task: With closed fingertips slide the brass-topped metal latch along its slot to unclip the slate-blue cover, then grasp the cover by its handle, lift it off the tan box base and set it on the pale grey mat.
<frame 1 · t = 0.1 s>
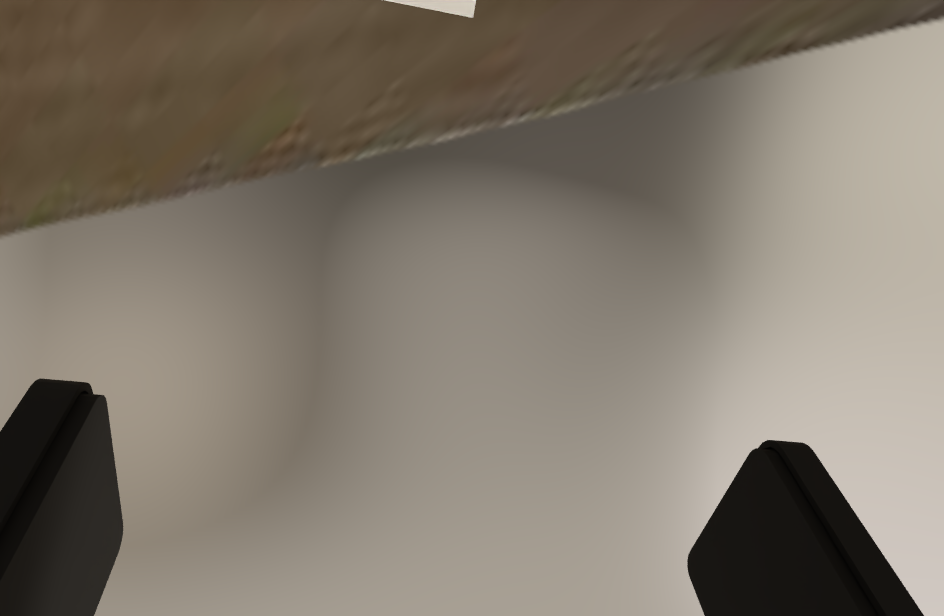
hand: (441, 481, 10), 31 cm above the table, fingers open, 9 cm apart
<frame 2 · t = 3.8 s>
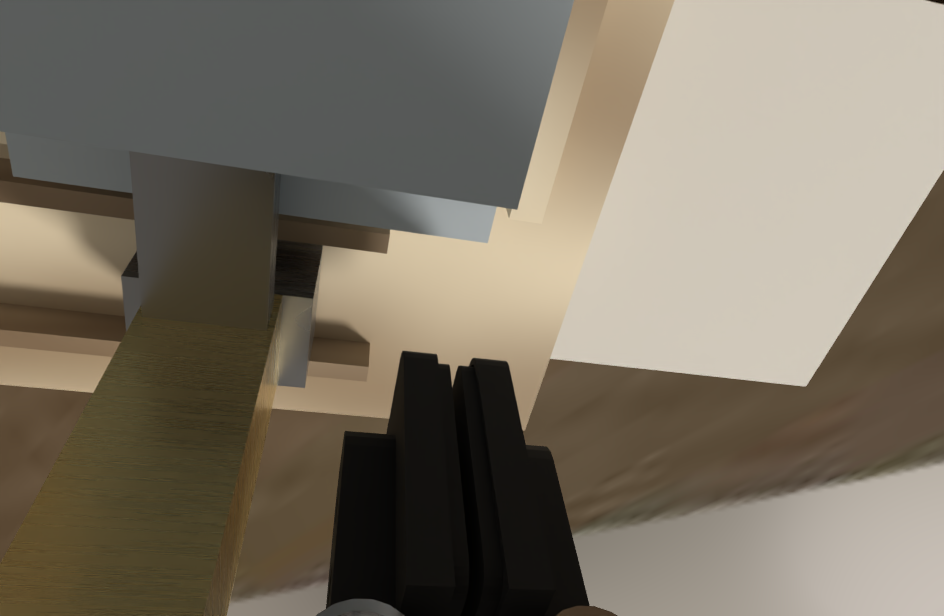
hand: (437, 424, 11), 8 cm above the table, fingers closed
latch: (186, 348, 9), point 8 cm above the table, slide at 0.7 cm, touching gripper
mat: (747, 205, 18), on the table
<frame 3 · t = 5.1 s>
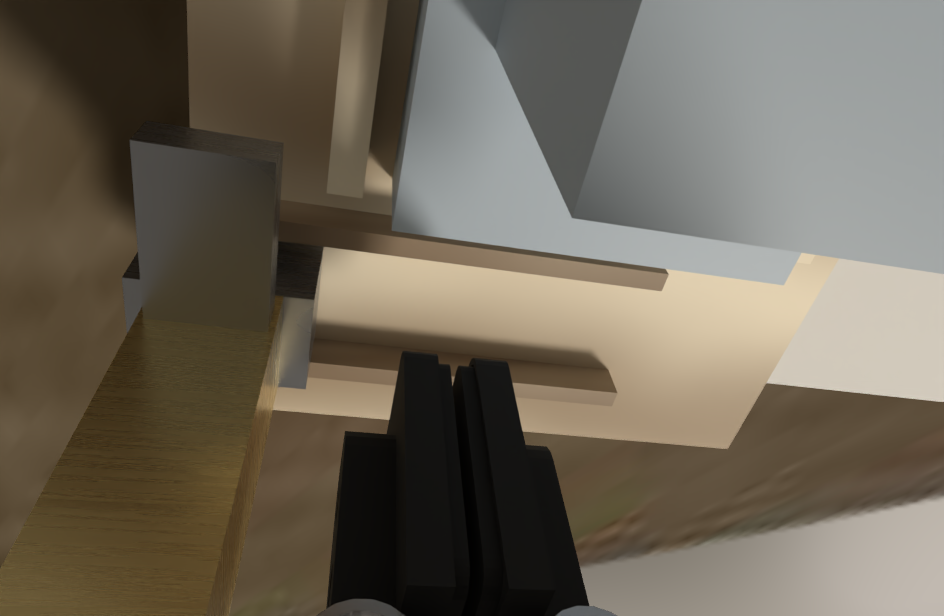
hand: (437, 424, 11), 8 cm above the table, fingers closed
latch: (187, 349, 9), point 8 cm above the table, slide at 6.1 cm, touching gripper
tan box base: (540, 42, 15), on the table
mat: (920, 234, 19), on the table
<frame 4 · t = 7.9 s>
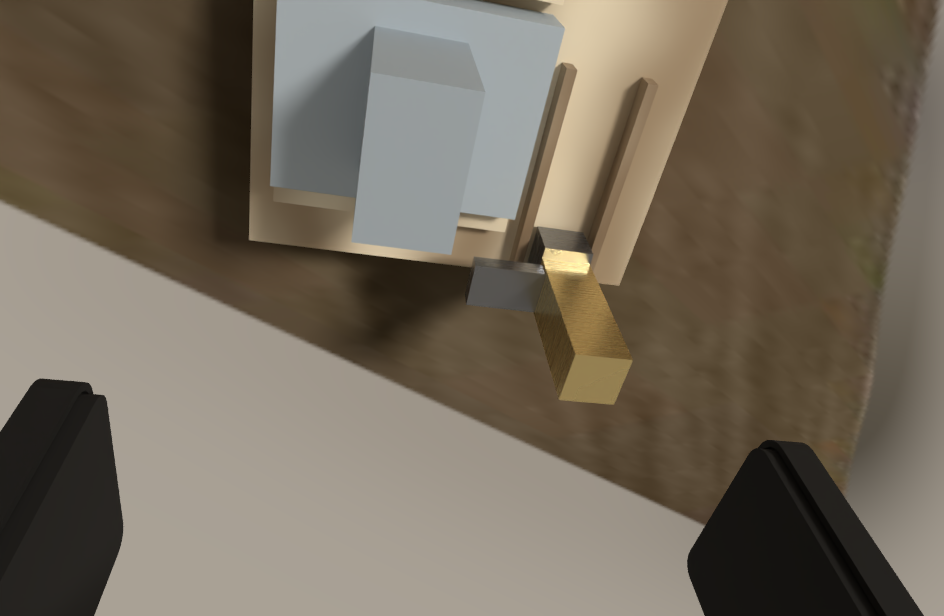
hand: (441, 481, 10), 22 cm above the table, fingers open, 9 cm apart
cover: (409, 92, 25), point 4 cm above the table, touching tan box base
latch: (535, 308, 26), point 8 cm above the table, slide at 6.0 cm
tan box base: (464, 83, 29), on the table
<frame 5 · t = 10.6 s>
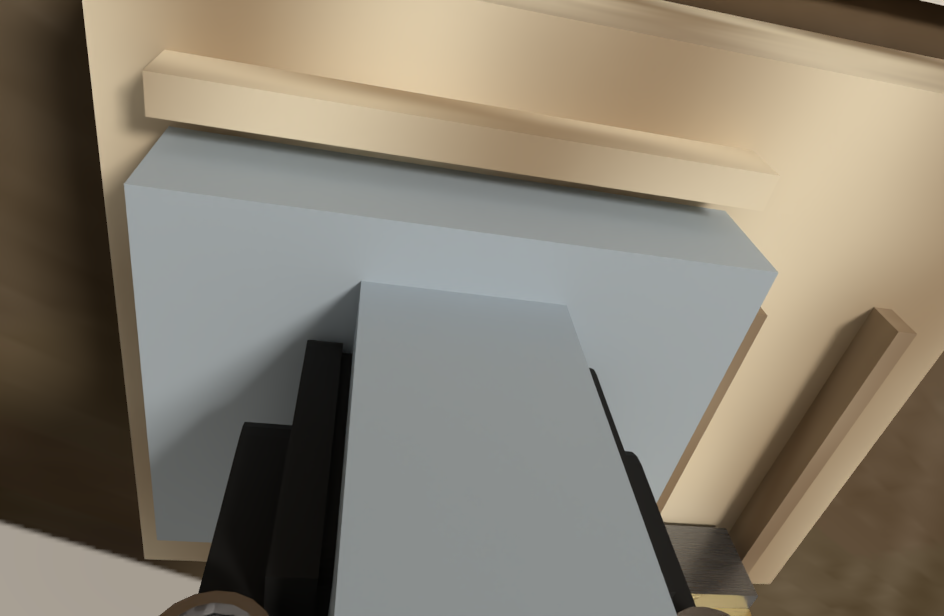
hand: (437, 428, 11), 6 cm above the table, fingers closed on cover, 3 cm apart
cover: (432, 344, 13), point 4 cm above the table, touching tan box base, gripper
tan box base: (522, 270, 17), on the table
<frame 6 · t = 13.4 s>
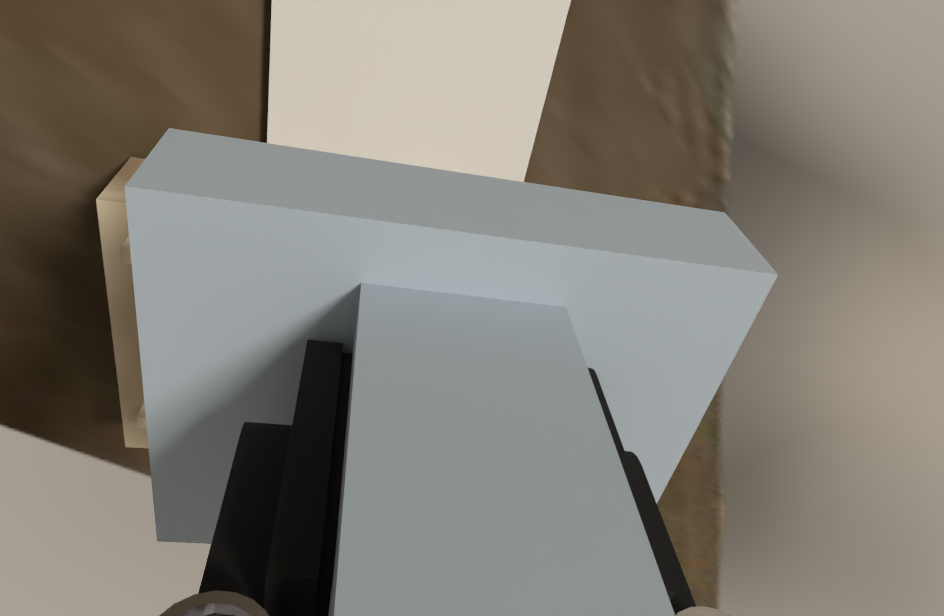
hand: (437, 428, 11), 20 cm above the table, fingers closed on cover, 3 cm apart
cover: (432, 345, 13), point 18 cm above the table, touching gripper
tan box base: (315, 305, 33), on the table
mat: (412, 70, 27), on the table
when the fingers open (4 cm above the table, at t = 16.5 s): cover stays where it is, resting on mat.
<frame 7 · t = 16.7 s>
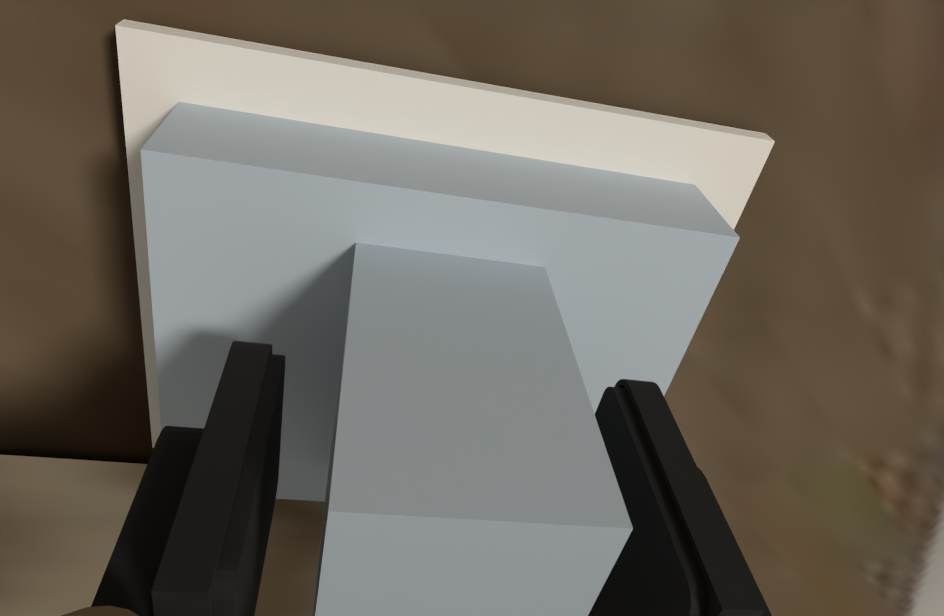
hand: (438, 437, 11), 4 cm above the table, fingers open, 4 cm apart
cover: (423, 311, 14), resting on mat
mat: (429, 299, 14), on the table
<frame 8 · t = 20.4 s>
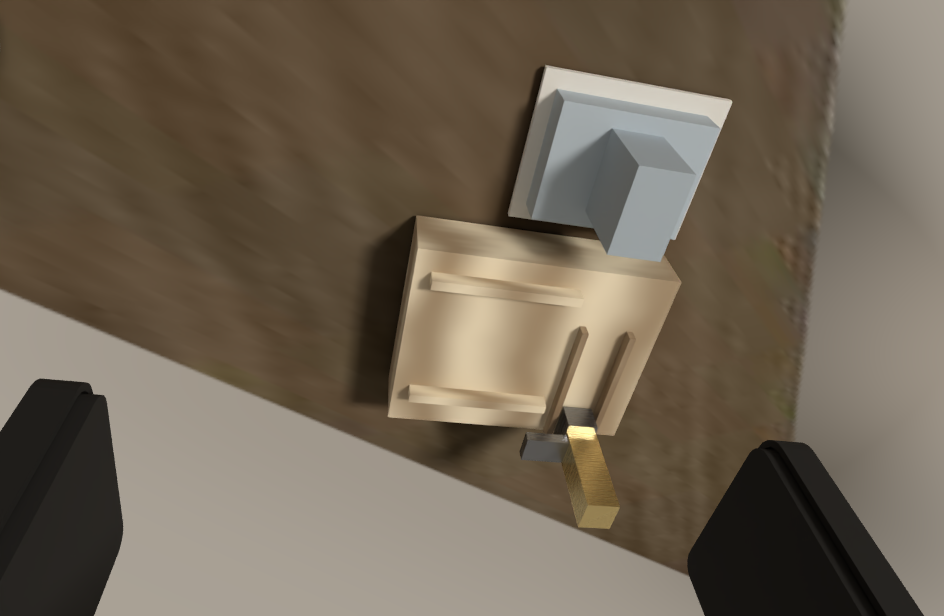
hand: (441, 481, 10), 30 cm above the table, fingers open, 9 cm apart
cover: (614, 161, 40), resting on mat
latch: (563, 465, 43), point 8 cm above the table, slide at 6.0 cm
tan box base: (518, 316, 46), on the table
mat: (614, 158, 40), on the table
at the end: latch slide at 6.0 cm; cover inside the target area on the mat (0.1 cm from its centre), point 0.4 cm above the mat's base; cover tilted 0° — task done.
